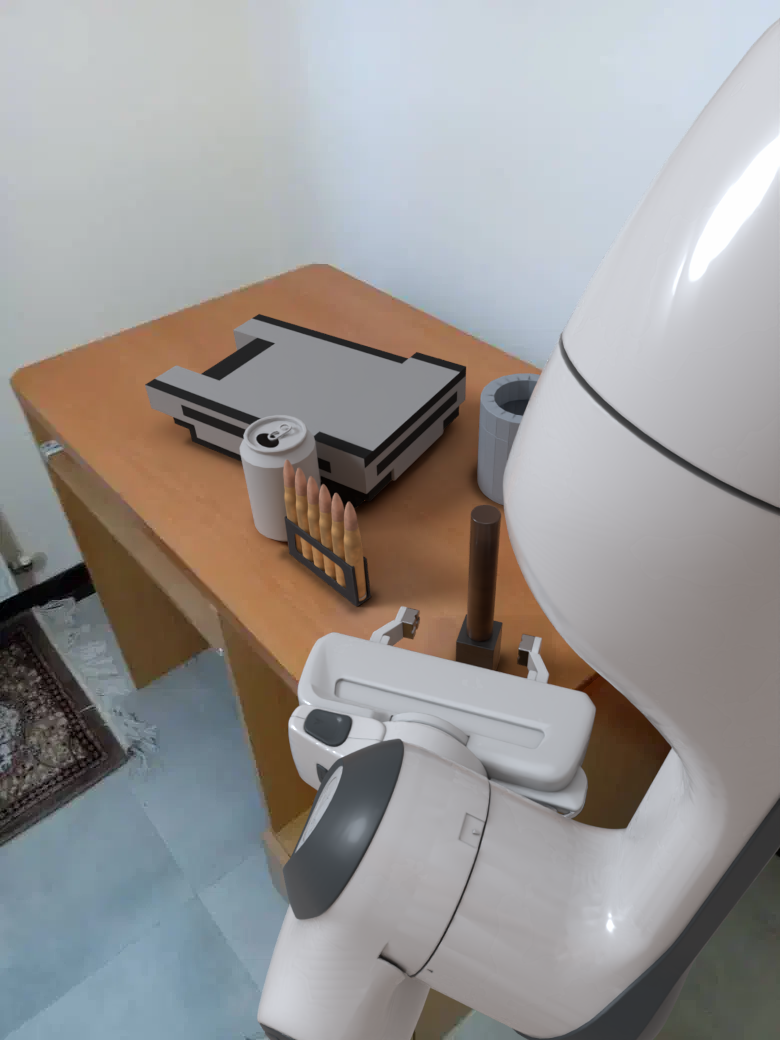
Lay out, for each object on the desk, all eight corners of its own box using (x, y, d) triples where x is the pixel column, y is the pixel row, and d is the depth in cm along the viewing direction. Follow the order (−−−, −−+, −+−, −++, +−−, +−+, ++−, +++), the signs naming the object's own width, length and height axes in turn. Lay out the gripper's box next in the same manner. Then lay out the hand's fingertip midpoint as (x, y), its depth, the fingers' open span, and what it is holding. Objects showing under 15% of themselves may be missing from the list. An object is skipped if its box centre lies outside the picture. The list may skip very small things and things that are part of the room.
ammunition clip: (371, 597, 76) (364, 502, 68) (357, 607, 75) (348, 512, 67) (302, 544, 82) (288, 451, 74) (288, 553, 81) (272, 459, 73)
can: (241, 521, 85) (222, 429, 77) (298, 491, 89) (285, 401, 81) (280, 557, 81) (264, 463, 73) (339, 524, 84) (328, 431, 76)
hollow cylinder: (570, 463, 91) (582, 380, 84) (555, 515, 84) (566, 430, 77) (488, 449, 93) (493, 367, 86) (467, 499, 87) (470, 415, 79)
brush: (499, 659, 70) (512, 504, 58) (491, 688, 68) (502, 532, 56) (464, 651, 71) (470, 496, 59) (455, 678, 68) (458, 523, 57)
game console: (266, 359, 111) (257, 305, 106) (464, 425, 97) (466, 366, 92) (158, 433, 99) (142, 375, 93) (368, 520, 85) (363, 459, 79)
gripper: (586, 806, 45) (616, 629, 55) (265, 716, 51) (343, 570, 61) (574, 857, 49) (604, 685, 59) (278, 769, 55) (350, 625, 65)
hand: (470, 626), depth 60 cm, fingers open, 8 cm apart
